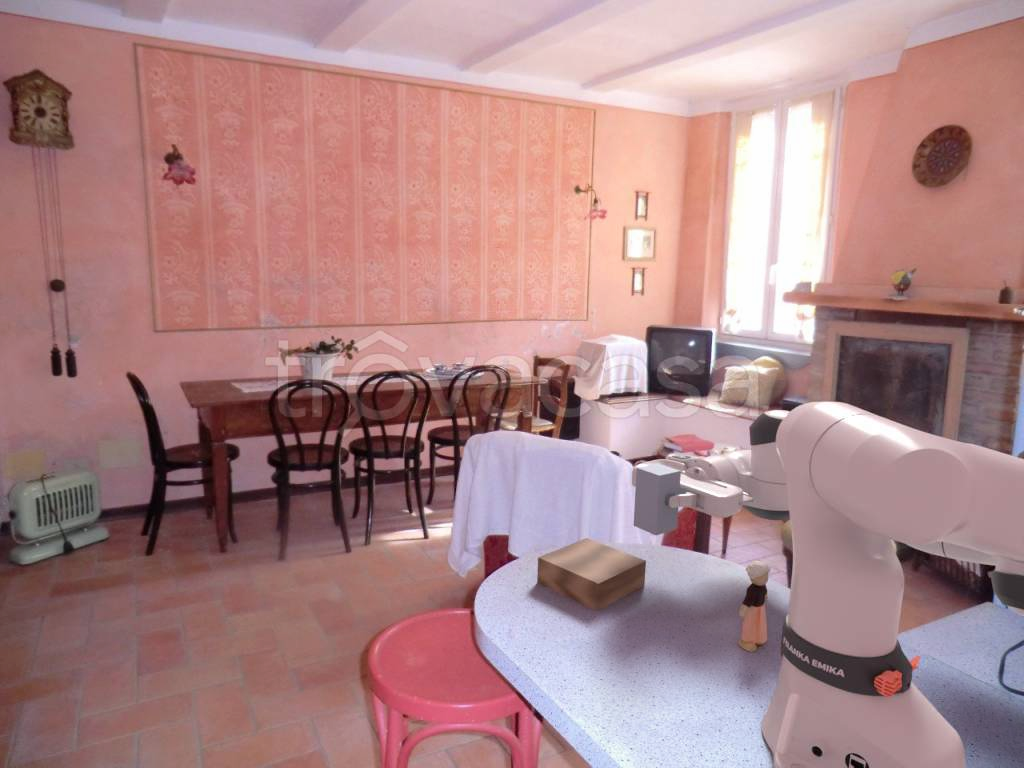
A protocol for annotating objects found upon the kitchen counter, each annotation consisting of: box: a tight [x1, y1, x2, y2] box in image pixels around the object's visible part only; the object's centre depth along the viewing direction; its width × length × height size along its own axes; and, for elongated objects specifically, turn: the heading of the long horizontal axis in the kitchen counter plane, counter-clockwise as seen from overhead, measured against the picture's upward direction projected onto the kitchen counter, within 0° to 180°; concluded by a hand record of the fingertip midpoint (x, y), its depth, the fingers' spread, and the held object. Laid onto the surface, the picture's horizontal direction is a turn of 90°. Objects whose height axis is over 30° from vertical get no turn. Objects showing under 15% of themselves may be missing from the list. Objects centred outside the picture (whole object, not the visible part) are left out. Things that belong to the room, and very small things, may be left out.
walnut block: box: [536, 537, 647, 612], centre depth 117 cm, size 13×13×5 cm
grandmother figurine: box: [737, 560, 771, 653], centre depth 100 cm, size 8×4×13 cm, turn 147°
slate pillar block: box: [633, 463, 681, 536], centre depth 113 cm, size 5×5×10 cm
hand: (653, 496), depth 112 cm, fingers closed on slate pillar block, 5 cm apart
